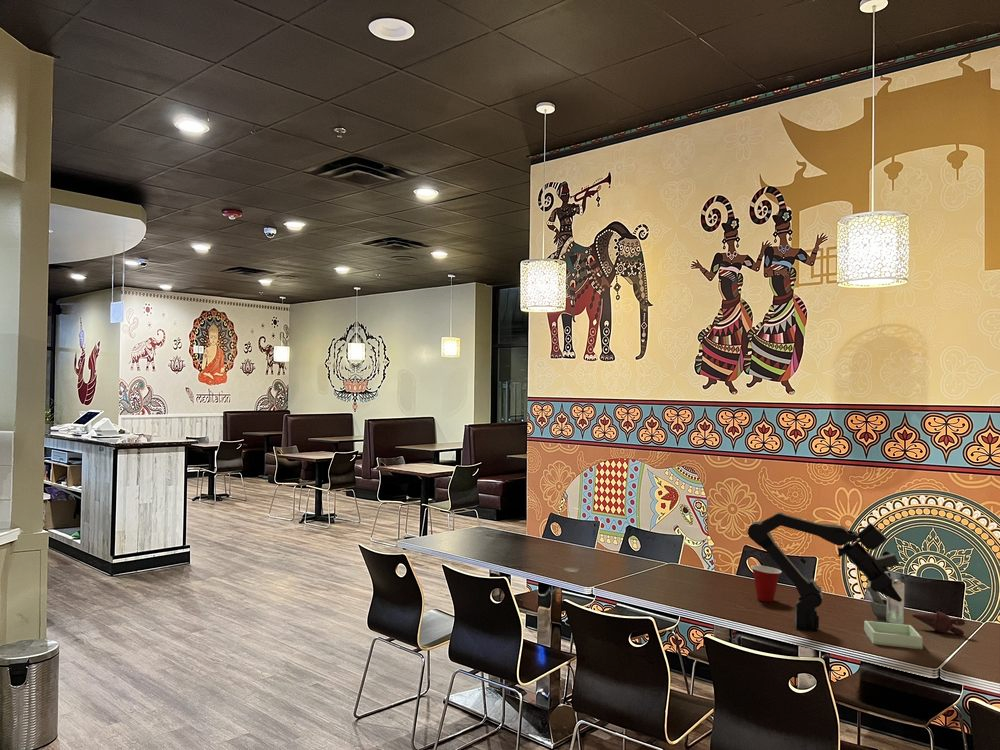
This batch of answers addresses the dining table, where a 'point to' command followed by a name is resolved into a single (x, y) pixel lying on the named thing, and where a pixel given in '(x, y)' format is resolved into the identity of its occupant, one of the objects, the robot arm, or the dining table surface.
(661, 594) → the dining table surface
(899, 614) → the cylinder with three balls
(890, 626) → the pale green bin
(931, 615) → the icecream
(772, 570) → the plastic cup
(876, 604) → the mortar and pestle
